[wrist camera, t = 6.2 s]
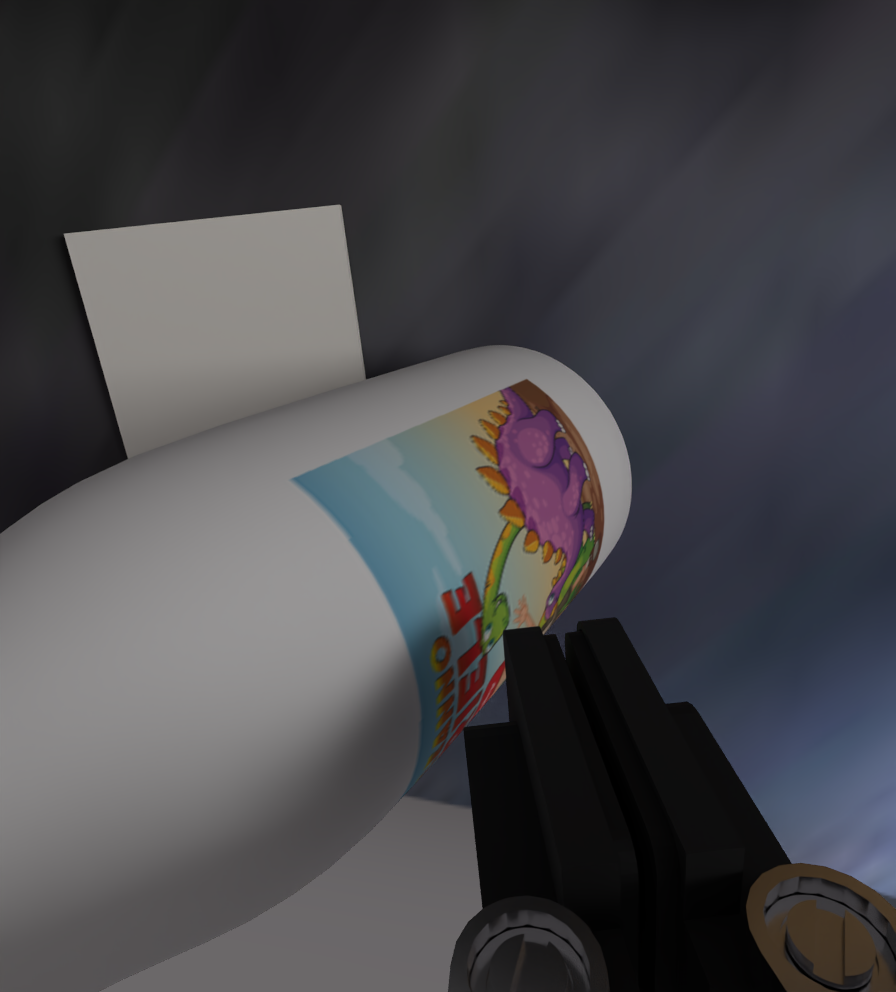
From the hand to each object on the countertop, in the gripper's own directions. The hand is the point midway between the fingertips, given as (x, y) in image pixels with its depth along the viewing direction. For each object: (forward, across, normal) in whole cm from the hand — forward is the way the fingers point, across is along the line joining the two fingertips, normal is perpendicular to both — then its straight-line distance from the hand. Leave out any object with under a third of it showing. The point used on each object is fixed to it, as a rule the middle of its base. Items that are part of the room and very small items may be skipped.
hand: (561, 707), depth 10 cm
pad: (+13, +7, 0) cm, 15 cm away
